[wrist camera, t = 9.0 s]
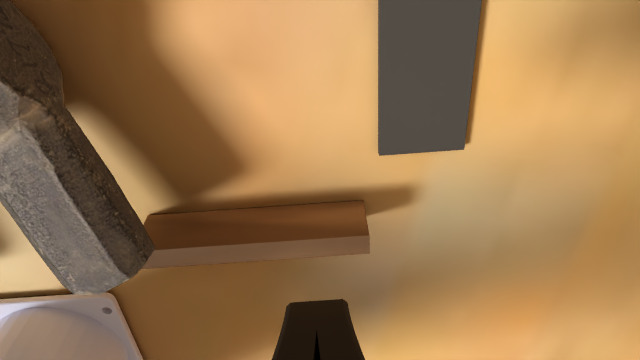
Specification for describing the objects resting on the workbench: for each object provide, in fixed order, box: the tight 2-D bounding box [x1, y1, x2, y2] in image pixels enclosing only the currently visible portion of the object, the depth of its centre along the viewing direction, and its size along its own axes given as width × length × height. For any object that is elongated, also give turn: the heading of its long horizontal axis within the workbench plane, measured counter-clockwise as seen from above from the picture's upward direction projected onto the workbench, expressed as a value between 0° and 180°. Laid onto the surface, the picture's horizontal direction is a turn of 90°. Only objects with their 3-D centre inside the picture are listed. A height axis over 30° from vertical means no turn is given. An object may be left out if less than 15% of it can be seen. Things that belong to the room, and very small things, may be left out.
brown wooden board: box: [141, 200, 370, 269], centre depth 16 cm, size 17×10×2 cm, turn 4°
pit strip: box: [378, 0, 482, 156], centre depth 17 cm, size 10×4×1 cm, turn 4°
